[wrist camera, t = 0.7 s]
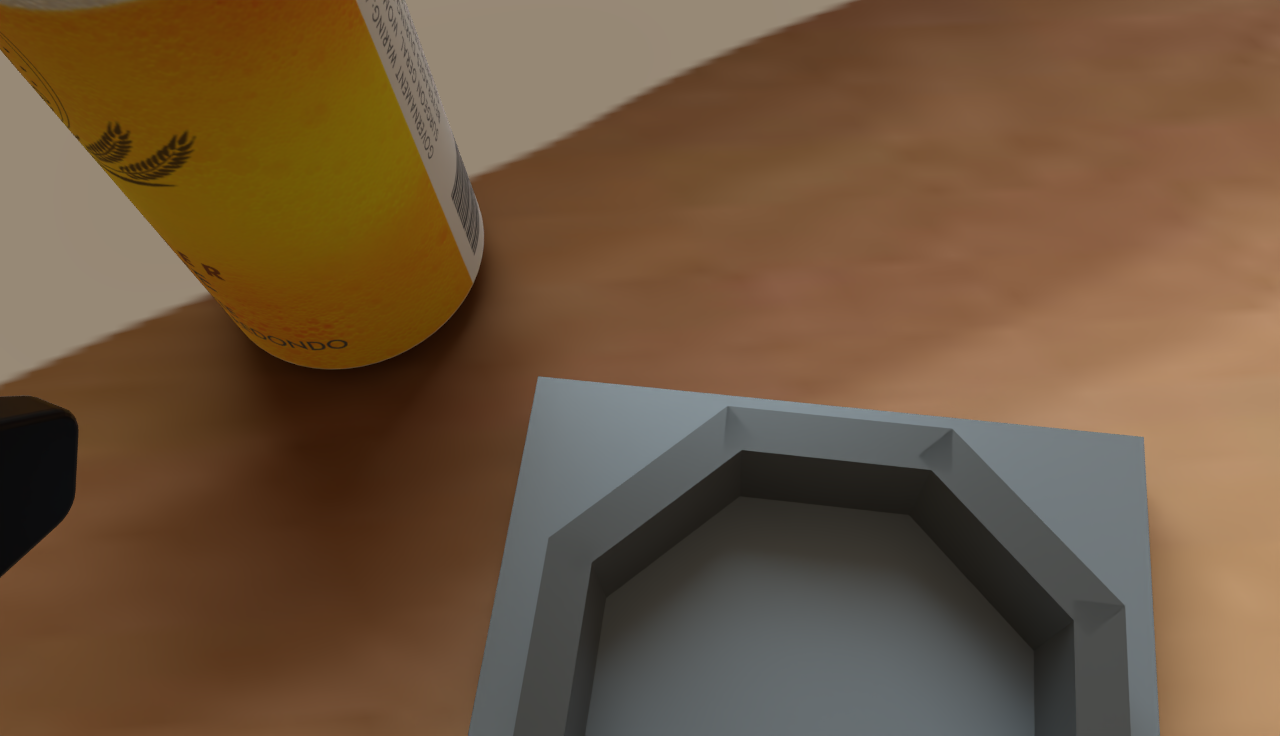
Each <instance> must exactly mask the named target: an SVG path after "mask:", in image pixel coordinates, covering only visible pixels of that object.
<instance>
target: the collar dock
mask: <svg viewBox="0 0 1280 736" xmlns="http://www.w3.org/2000/svg"><path fill="white" fill-rule="evenodd" d="M468 736H1160V728H1159V709H1158V691H1157V673H1156V654H1155V636H1154V618H1153V599H1152V581H1151V563H1150V544H1149V526H1148V507H1147V489H1146V471H1145V452H1144V437H1138V436H1128V435H1118V434H1108V433H1098V432H1088V431H1078V430H1068V429H1058V428H1048V427H1038V426H1028V425H1018V424H1008V423H998V422H988V421H978V420H968V419H958V418H948V417H938V416H928V415H918V414H908V413H898V412H888V411H878V410H868V409H858V408H848V407H838V406H828V405H818V404H808V403H798V402H788V401H778V400H768V399H758V398H748V397H738V396H728V395H718V394H708V393H698V392H688V391H678V390H668V389H658V388H648V387H638V386H628V385H618V384H608V383H598V382H588V381H578V380H568V379H558V378H548V377H538V380H537V385H536V391H535V396H534V401H533V406H532V411H531V416H530V421H529V426H528V431H527V436H526V442H525V447H524V452H523V457H522V462H521V467H520V472H519V477H518V482H517V487H516V493H515V498H514V503H513V508H512V513H511V518H510V523H509V528H508V533H507V539H506V544H505V549H504V554H503V559H502V564H501V569H500V574H499V579H498V584H497V590H496V595H495V600H494V605H493V610H492V615H491V620H490V625H489V630H488V635H487V641H486V646H485V651H484V656H483V661H482V666H481V671H480V676H479V681H478V686H477V692H476V697H475V702H474V707H473V712H472V717H471V722H470V727H469V732H468Z"/></svg>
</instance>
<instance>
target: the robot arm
mask: <svg viewBox="0 0 1280 736" xmlns="http://www.w3.org/2000/svg"><path fill="white" fill-rule="evenodd" d="M77 451H78V424H77V421H76V418H75V416H74V415H73V414H72V413H71V412H70V411H69V410H67V409H64V408H62V407H59V406H57V405H54V404H52V403H49V402H47V401H44V400H42V399H39V398H37V397H32V396H7V397H0V577H1V576H2V575H4V574H5V573H6V572H7V571H8V570H9V569H10V568H11V567H12V566H14V565H15V564H16V563H17V562H18V561H19V560H20V559H21V558H22V557H23V556H25V555H26V554H27V553H28V552H29V551H30V550H31V549H32V548H33V547H34V546H36V545H37V544H38V543H39V542H40V541H41V540H42V539H43V538H44V537H45V536H47V535H48V534H49V533H50V532H51V531H52V530H53V529H54V528H55V527H56V526H58V525H59V524H60V523H61V522H62V520H63V519H64V518H65V516H66V515H67V514H68V512H69V510H70V508H71V506H72V504H73V501H74V498H75V490H76V471H77Z"/></svg>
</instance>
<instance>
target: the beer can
mask: <svg viewBox="0 0 1280 736" xmlns="http://www.w3.org/2000/svg"><path fill="white" fill-rule="evenodd" d="M0 50H1V51H2V52H3V53H4V55H5V56H6V57H7V58H8V59H9V60H10V61H11V63H12V64H13V65H14V66H15V67H16V68H17V70H18V71H19V72H20V73H21V74H22V75H23V77H24V78H25V79H26V80H27V81H28V82H29V84H31V86H32V87H33V88H34V89H35V90H36V92H37V93H38V94H39V95H40V96H41V98H42V99H44V101H45V102H46V103H47V104H48V106H49V107H50V108H51V109H52V110H53V111H54V113H55V114H56V115H57V116H58V117H59V118H60V119H61V121H62V122H63V123H64V124H65V125H66V126H67V128H68V129H69V130H70V131H71V132H72V133H73V135H74V136H75V137H76V138H77V139H78V141H80V143H81V144H82V145H83V146H84V147H85V149H86V150H87V151H88V152H89V153H90V154H91V156H92V157H93V158H94V159H95V160H96V161H97V163H98V164H99V165H100V166H101V167H102V168H103V170H104V171H105V172H106V173H107V174H108V175H109V177H110V178H111V179H112V180H113V181H114V182H115V183H116V185H117V186H118V187H119V188H120V189H121V190H122V192H123V193H124V194H125V195H126V196H127V197H128V199H130V201H131V202H132V203H133V204H134V206H136V208H137V209H138V210H139V211H140V213H141V214H142V215H143V216H144V217H145V218H146V219H147V221H148V222H149V223H150V224H151V225H152V226H153V228H154V229H155V230H156V231H157V232H158V233H159V235H160V236H161V237H162V238H163V239H164V240H165V242H166V243H167V244H168V245H169V246H170V247H171V249H172V250H173V251H174V252H175V253H176V254H177V255H178V257H179V258H180V259H181V260H182V261H183V262H184V264H185V265H186V266H187V267H188V268H189V269H190V270H191V272H192V273H193V274H194V275H195V276H196V278H197V279H198V280H199V281H200V282H201V283H202V285H203V286H204V287H205V288H206V289H207V290H208V292H209V293H210V294H211V295H212V296H213V297H214V299H215V300H216V301H217V302H218V303H219V304H220V306H221V307H222V308H223V309H224V310H225V311H226V312H227V314H228V315H229V316H230V317H231V318H232V319H233V321H234V322H235V323H236V324H237V325H238V326H239V328H240V329H241V330H242V331H243V332H244V333H245V334H246V335H247V337H248V338H249V339H250V340H252V341H253V342H254V343H255V344H256V345H258V346H259V347H260V348H262V349H263V350H265V351H266V352H268V353H270V354H271V355H273V356H275V357H277V358H280V359H282V360H284V361H287V362H290V363H293V364H296V365H299V366H305V367H310V368H317V369H349V368H356V367H363V366H367V365H371V364H375V363H378V362H381V361H384V360H387V359H390V358H393V357H395V356H397V355H399V354H401V353H403V352H405V351H408V350H409V349H411V348H413V347H414V346H416V345H418V344H419V343H421V342H423V341H424V340H425V339H427V338H428V337H429V336H431V335H432V334H433V333H435V332H436V331H437V330H438V329H439V328H440V327H441V326H442V325H444V324H445V323H446V322H447V321H448V320H449V318H450V317H451V316H452V315H453V314H454V313H455V312H456V311H457V309H458V308H459V307H460V305H461V304H462V302H463V301H464V299H465V298H466V296H467V295H468V293H469V291H470V289H471V287H472V286H473V284H474V281H475V279H476V276H477V274H478V271H479V267H480V264H481V260H482V255H483V247H484V228H483V221H482V216H481V212H480V209H479V206H478V203H477V200H476V197H475V194H474V192H473V189H472V186H471V183H470V180H469V178H468V175H467V172H466V169H465V167H464V164H463V161H462V158H461V156H460V152H459V150H458V147H457V144H456V141H455V138H454V136H453V133H452V130H451V127H450V124H449V122H448V119H447V116H446V113H445V111H444V108H443V105H442V102H441V99H440V97H439V94H438V91H437V88H436V85H435V83H434V80H433V77H432V75H431V72H430V69H429V66H428V63H427V60H426V57H425V55H424V52H423V49H422V46H421V44H420V41H419V38H418V35H417V32H416V30H415V27H414V24H413V21H412V19H411V16H410V13H409V10H408V7H407V4H406V2H405V0H0Z"/></svg>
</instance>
